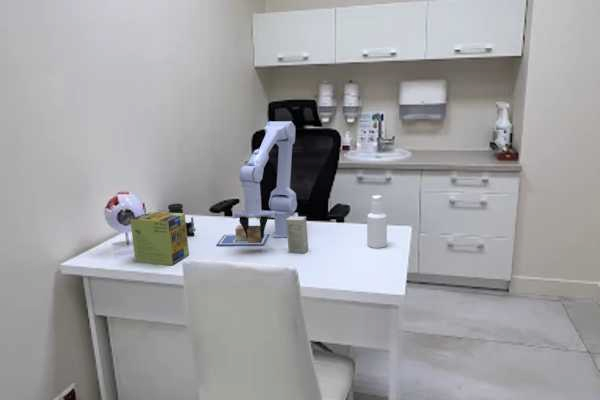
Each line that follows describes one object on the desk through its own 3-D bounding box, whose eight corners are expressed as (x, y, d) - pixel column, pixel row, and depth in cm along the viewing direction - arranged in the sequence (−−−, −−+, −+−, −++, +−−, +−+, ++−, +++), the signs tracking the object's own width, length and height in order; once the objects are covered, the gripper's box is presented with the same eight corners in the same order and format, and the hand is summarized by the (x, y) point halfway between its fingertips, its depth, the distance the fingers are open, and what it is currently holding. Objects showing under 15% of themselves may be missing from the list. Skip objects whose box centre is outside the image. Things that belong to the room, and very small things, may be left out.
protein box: (173, 265, 155) (168, 221, 152) (134, 262, 160) (129, 219, 157) (190, 255, 165) (185, 212, 161) (153, 251, 170) (148, 210, 166)
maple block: (250, 237, 180) (249, 224, 179) (248, 241, 175) (247, 228, 174) (238, 237, 180) (237, 225, 179) (236, 241, 176) (235, 228, 175)
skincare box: (308, 249, 165) (307, 216, 162) (304, 253, 161) (303, 219, 158) (291, 248, 167) (290, 215, 164) (287, 252, 163) (285, 218, 160)
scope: (193, 201, 184) (178, 208, 175) (196, 235, 187) (182, 243, 178) (175, 201, 187) (160, 207, 178) (179, 233, 190) (164, 241, 181)
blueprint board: (269, 235, 183) (268, 234, 183) (264, 245, 171) (264, 244, 171) (224, 236, 184) (224, 234, 184) (216, 246, 173) (216, 244, 173)
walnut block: (262, 238, 167) (261, 225, 166) (260, 243, 162) (259, 229, 161) (250, 239, 167) (249, 225, 166) (248, 243, 163) (247, 229, 162)
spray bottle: (388, 243, 168) (388, 194, 164) (383, 249, 162) (383, 199, 158) (370, 241, 171) (370, 193, 167) (364, 247, 165) (364, 198, 161)
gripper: (229, 203, 158) (232, 241, 161) (271, 202, 157) (274, 240, 160) (234, 198, 165) (236, 234, 168) (274, 197, 163) (276, 234, 167)
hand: (255, 237), depth 164 cm, fingers closed on walnut block, 4 cm apart
